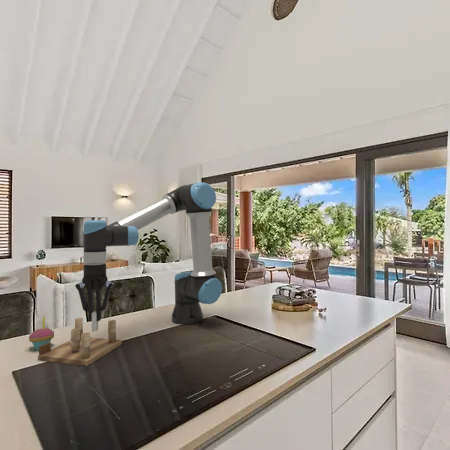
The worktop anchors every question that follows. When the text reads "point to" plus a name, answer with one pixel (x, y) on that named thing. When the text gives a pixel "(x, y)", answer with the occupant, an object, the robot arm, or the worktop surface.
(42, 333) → the cupcake
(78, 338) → the gray bar with post
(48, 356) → the wooden peg board
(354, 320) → the worktop surface
